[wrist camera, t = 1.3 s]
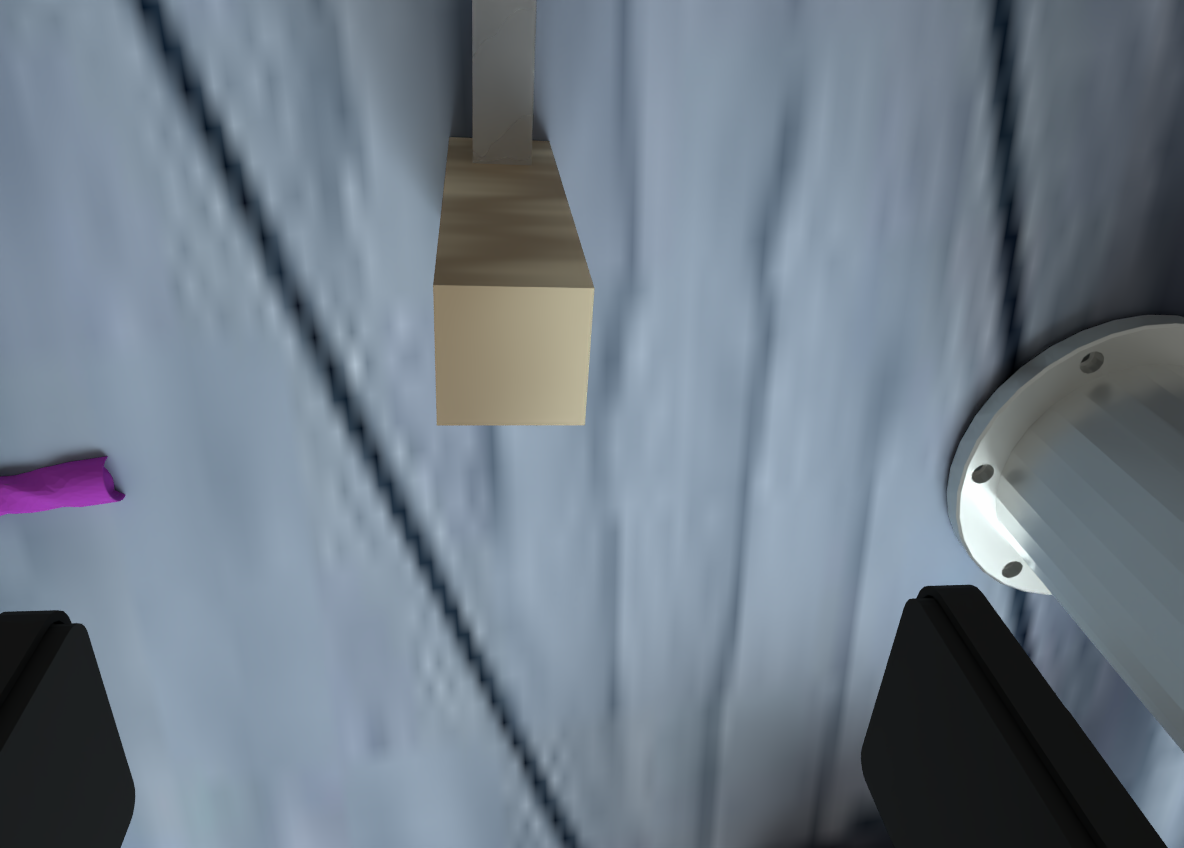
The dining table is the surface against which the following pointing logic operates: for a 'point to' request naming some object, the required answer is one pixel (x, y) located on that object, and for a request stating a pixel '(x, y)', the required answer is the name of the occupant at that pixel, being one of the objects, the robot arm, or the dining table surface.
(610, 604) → the dining table surface
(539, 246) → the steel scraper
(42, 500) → the squeegee
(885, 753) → the robot arm
